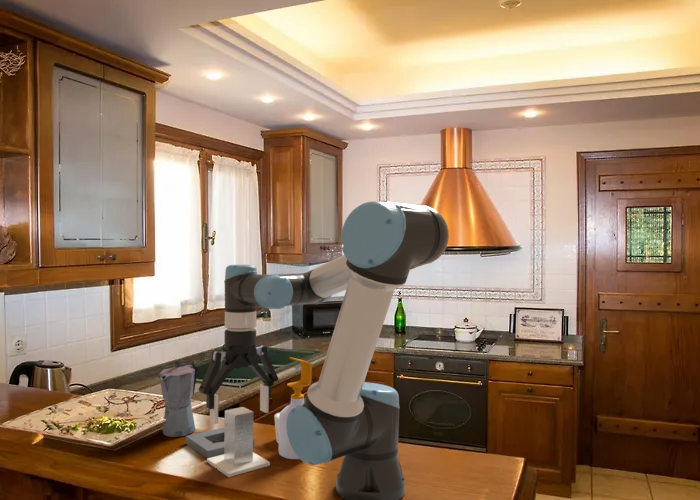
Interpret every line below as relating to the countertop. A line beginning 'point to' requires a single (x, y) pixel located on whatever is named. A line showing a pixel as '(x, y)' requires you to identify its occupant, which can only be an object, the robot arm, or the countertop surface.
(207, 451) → the socket frame
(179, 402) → the moka pot
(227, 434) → the steel peg
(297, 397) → the soap bottle
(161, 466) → the countertop surface
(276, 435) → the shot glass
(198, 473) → the countertop surface
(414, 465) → the countertop surface
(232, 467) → the pad
